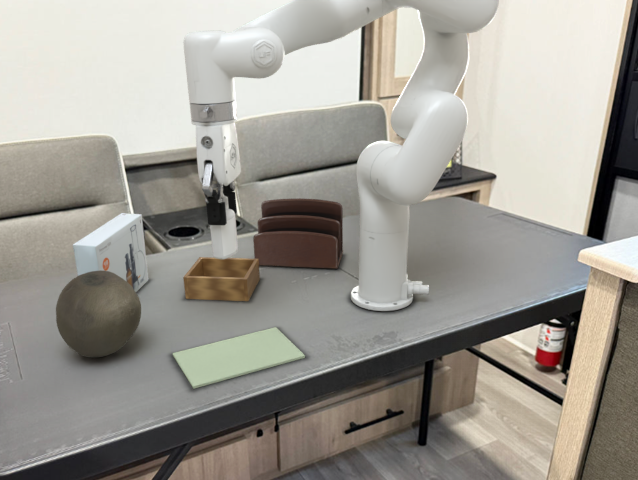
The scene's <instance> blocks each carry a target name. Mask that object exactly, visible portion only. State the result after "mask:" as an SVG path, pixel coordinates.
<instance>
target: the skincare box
mask: <svg viewBox="0 0 638 480" xmlns="http://www.w3.org/2000/svg"><path fill="white" fill-rule="evenodd" d="M144 232H145V231H144V224H143V215H142V214H141V213H140V214H139V213H127V212H121V213H119V214H118V215H116V216H115V217H113V218H112V219H110V220H108V221H107V222H105V223H104V224H102V225H100V226H99V227H97V228H96V229H95V230H93V231H92V232H90V233H89V234H86V235H85V236H83V237H82V238H80V239H79V240H77V241H76V242H74V243H73V244H72V250H73V254H74V260H75V268H76V274H77V276H79V275H81V274H84V273H87V272H91V271H100V270H101V271H109V272H112V273H115V274H116V275H118V276H119V277H121V278H123V279H124V280H125V281H127V282H128V283H129V284H130V285H131V286H132V287H133V289H134V291H135V292H136V293H137V292H139V290H140V289H142V287H143V286H144V285H145V284H147V283H148V282H149V280H150V279H149V271H148V263H147V253H146V252H147V251H146V243H145V242H146V241H145V233H144Z"/></svg>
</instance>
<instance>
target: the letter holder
mask: <svg viewBox="0 0 638 480" xmlns="http://www.w3.org/2000/svg"><path fill="white" fill-rule="evenodd" d="M260 207H261V217H260V218H259V219H257V233H256V234H254V236H253V237H252V238H253V239H252V240H253V242H252V243H253V256H254V258H253V259H259V267H280V268H281V267H283V268H284V267H285V268H307V269H327V270H338V268H339V265H340V263H341V260H342V257H343V253H344V250H343V249H344V247H343V245H344V241H343V240H344V239H343V238H344V237H343V236H344V232H343V230H344V229H343V227H344V226H343V225H344V224H343V223H344V222H343V220H344V219H343V218H344V215H343V214H344V213H343V212H344V211H343V210H344V209H343V205H342V204H341V203H340V202H338V201H333V200H327V199H326V200H325V199H317V198H277V199H270V200H264V201H262V202H261V205H260Z"/></svg>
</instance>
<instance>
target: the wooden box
mask: <svg viewBox="0 0 638 480" xmlns="http://www.w3.org/2000/svg"><path fill="white" fill-rule="evenodd" d="M260 276H261V275H260V266H259V259H254V258H245V257H244V258H243V257H229V258H227V259H216V258H214V257H213V256H211V257H207V256H206V257H205V256H199V257H198V258H197V259H196V260H195V262H194V263H193V264H192V266H191V267H190V268H189V269H188V270H187V272H186V273H185V274H184V275H183V276H182V278H183V279H182V280H183V286H184V296H185V299H186V300H203V301H204V300H205V301H229V302H230V301H231V302H232V301H233V302H249V301H250V299H251V297H252V296H253V293H254V291H255V289H256V287H257V286H258V284H259V282H260V280H261V278H260Z"/></svg>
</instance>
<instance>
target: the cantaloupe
mask: <svg viewBox="0 0 638 480" xmlns="http://www.w3.org/2000/svg"><path fill="white" fill-rule="evenodd" d="M139 297H140V296H139V295H138V294H137V292H135V291H134V289H133V287H132V286H131V285H130V284H129V283H128V282H127V281H125V280H124V279H123V278H121V277H119V276H118V275H116V274H115V273H112V272H109V271H101V270H100V271H91V272H87V273H84V274H81V275H79V276H78V275H77V276H75V277H74V278H72V279H71V280H70V281H68V283H67V284H66V285H65V286H64V287H63V288H62V290H61V292H60V293H59V296H58V297H57V301H56V305H55V322H56V327H57V330H58V333H59V335H60V336H61V338H62V340H63V341H64V343H65V344H66V345H67V346H68V347H69V348H70V349H72V351H74V352H75V353H76V354H78V355H80V356H83V357H86V358H102V357H107V356H110V355H111V354H114V353H116V352H117V351H119V350H120V349H122V348H123V347H124V346H125V345H126V344H127V342H128V341H129V340H130V339H131V338H132V337H133V336H134V335H135V333H136V331H137V329H138V328H139V325H140V322H141V318H142V303H141V299H140V298H139Z"/></svg>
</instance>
